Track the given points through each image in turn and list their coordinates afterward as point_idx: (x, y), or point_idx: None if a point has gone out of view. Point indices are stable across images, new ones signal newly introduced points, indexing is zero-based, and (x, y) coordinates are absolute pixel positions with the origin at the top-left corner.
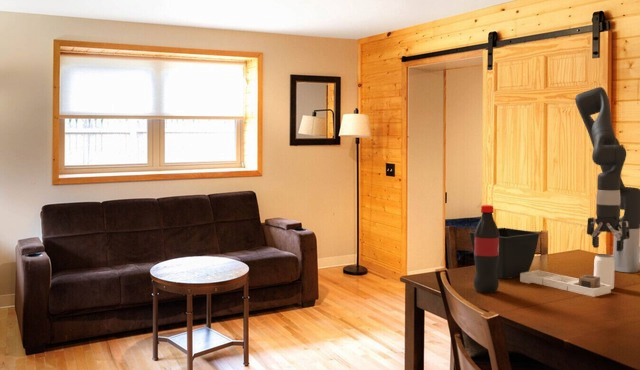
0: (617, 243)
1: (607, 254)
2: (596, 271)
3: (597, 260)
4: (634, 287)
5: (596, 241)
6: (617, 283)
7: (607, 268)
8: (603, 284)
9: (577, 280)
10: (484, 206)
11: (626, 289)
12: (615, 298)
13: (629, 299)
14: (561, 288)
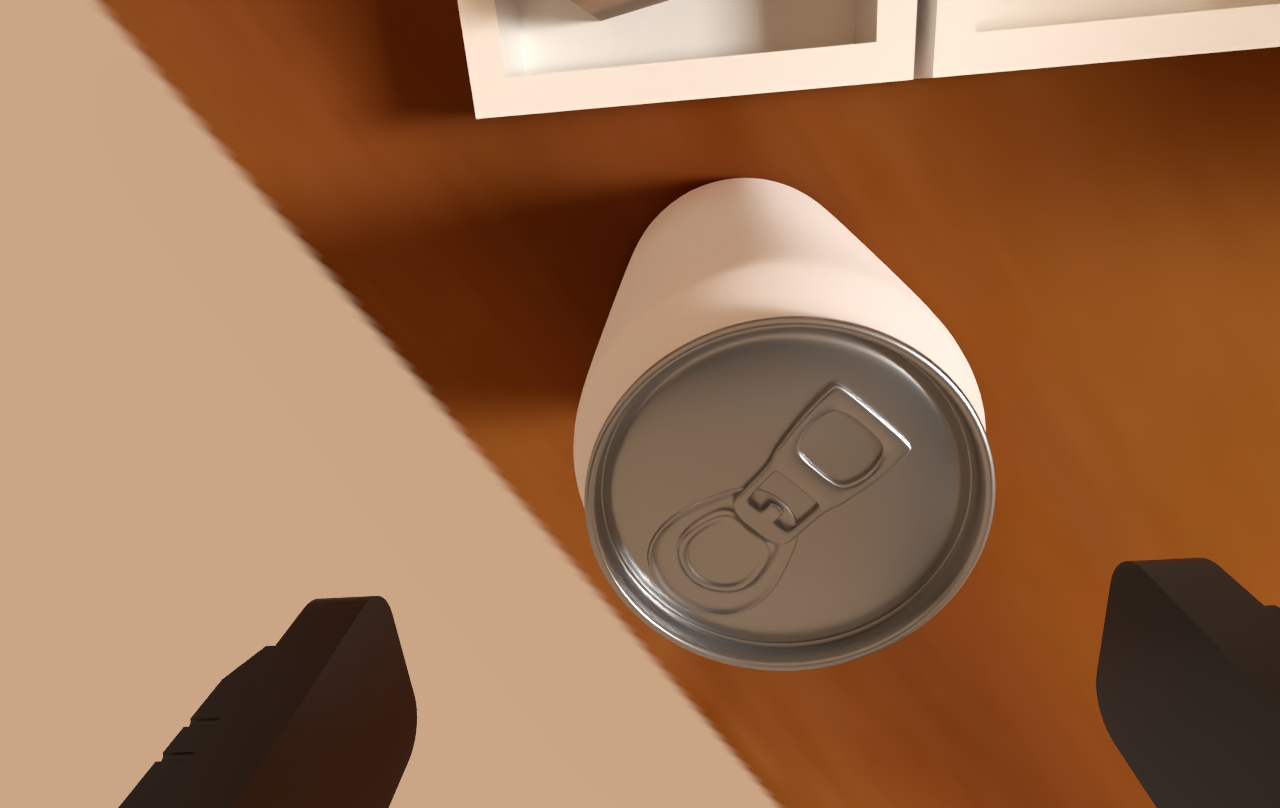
0: (210, 780)
1: (824, 657)
2: (798, 214)
3: (816, 261)
4: (620, 620)
5: (1254, 782)
6: None
7: (620, 306)
8: (571, 78)
9: None
10: None
11: None
12: (361, 11)
13: (268, 130)
14: None
